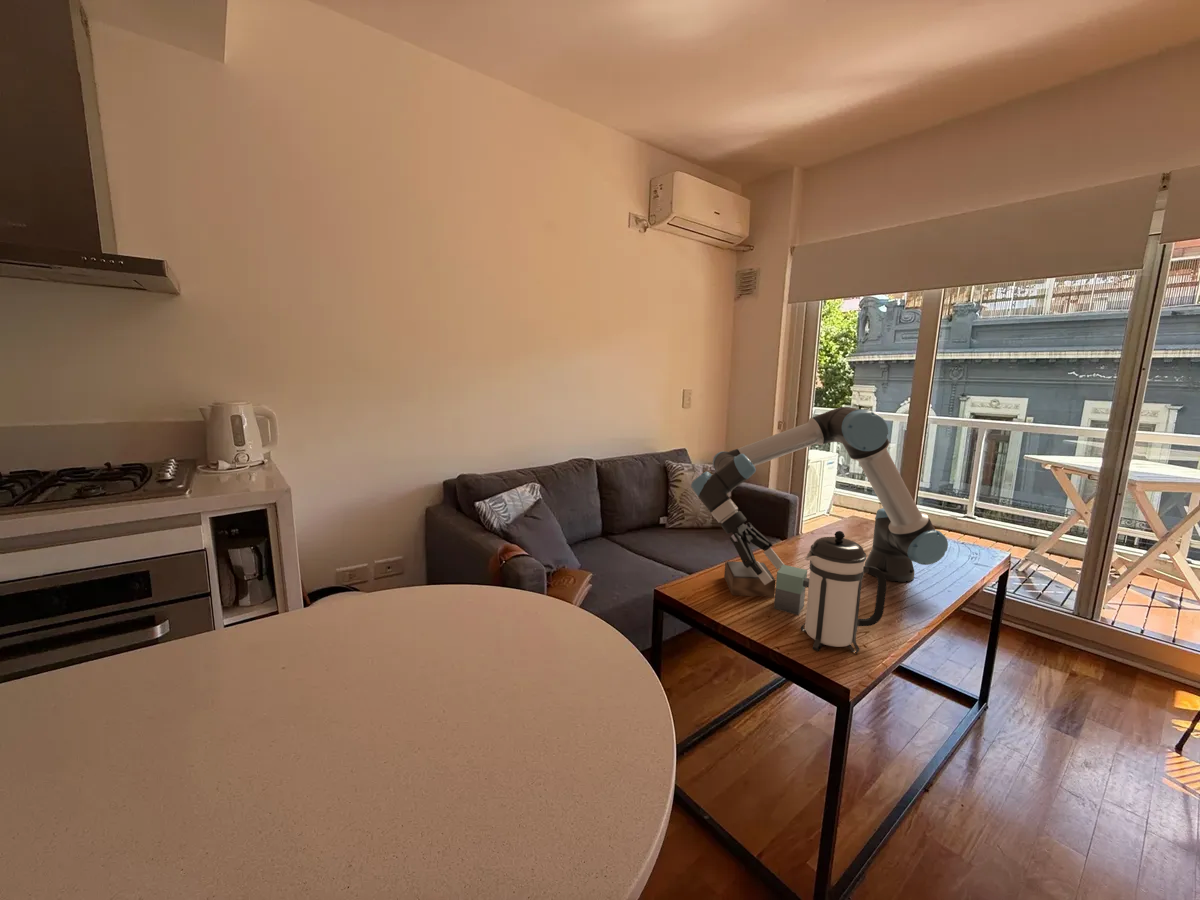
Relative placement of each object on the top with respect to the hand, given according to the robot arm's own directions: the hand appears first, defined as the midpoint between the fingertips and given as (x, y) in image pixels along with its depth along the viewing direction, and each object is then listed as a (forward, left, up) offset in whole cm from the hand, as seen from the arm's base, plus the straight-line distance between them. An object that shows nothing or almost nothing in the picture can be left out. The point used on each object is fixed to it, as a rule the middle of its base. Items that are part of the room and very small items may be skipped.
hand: (775, 574), depth 149 cm
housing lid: (-4, +2, -3) cm, 5 cm away
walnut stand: (+5, -11, -9) cm, 15 cm away
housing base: (-4, +2, -9) cm, 10 cm away
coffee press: (-10, +20, -9) cm, 24 cm away
